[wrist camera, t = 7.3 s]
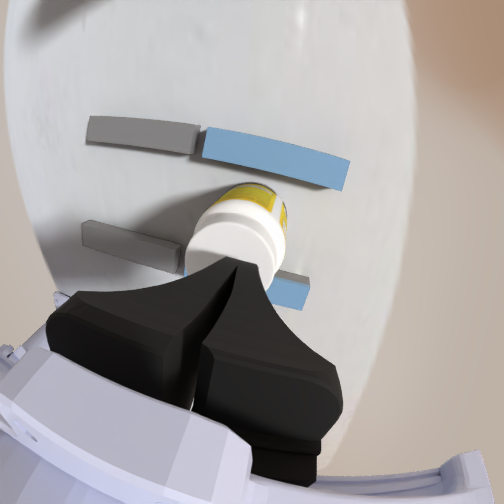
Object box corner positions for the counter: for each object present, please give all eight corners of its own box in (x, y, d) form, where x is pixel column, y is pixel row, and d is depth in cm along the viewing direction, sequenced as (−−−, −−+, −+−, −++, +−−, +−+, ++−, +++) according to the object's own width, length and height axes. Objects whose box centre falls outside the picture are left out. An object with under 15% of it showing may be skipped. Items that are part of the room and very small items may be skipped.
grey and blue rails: (301, 299, 22) (301, 310, 20) (90, 240, 22) (79, 247, 21) (345, 159, 17) (350, 161, 16) (98, 116, 18) (86, 115, 17)
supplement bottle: (206, 206, 20) (155, 250, 12) (260, 167, 18) (237, 187, 11) (246, 258, 21) (220, 327, 13) (300, 224, 19) (305, 281, 12)
